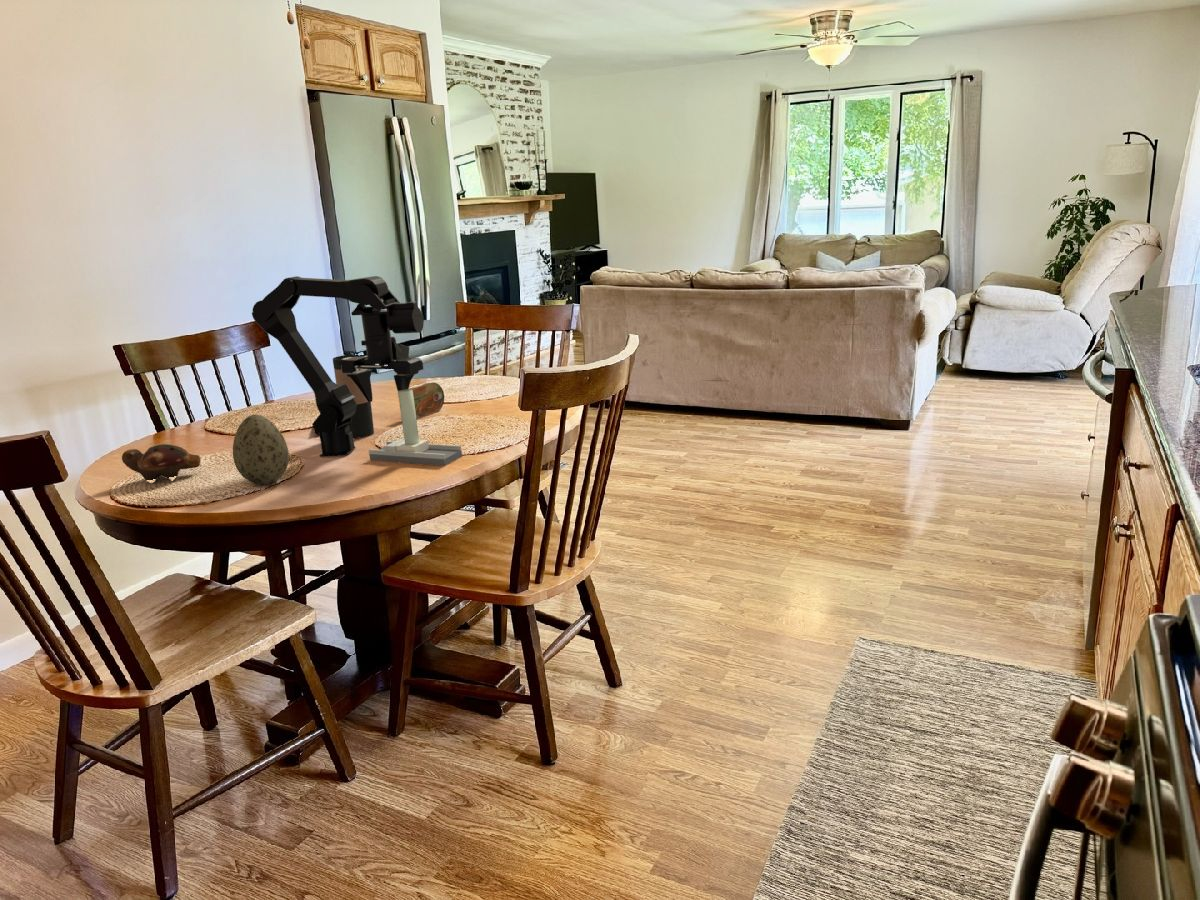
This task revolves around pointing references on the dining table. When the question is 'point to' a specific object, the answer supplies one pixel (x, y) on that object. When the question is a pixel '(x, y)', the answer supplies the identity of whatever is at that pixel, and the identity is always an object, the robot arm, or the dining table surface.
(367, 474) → the dining table surface
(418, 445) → the slider with handle
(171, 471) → the decorative turtle
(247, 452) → the decorative egg
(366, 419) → the travel mug
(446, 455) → the track
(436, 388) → the mottled brown rounded slab
